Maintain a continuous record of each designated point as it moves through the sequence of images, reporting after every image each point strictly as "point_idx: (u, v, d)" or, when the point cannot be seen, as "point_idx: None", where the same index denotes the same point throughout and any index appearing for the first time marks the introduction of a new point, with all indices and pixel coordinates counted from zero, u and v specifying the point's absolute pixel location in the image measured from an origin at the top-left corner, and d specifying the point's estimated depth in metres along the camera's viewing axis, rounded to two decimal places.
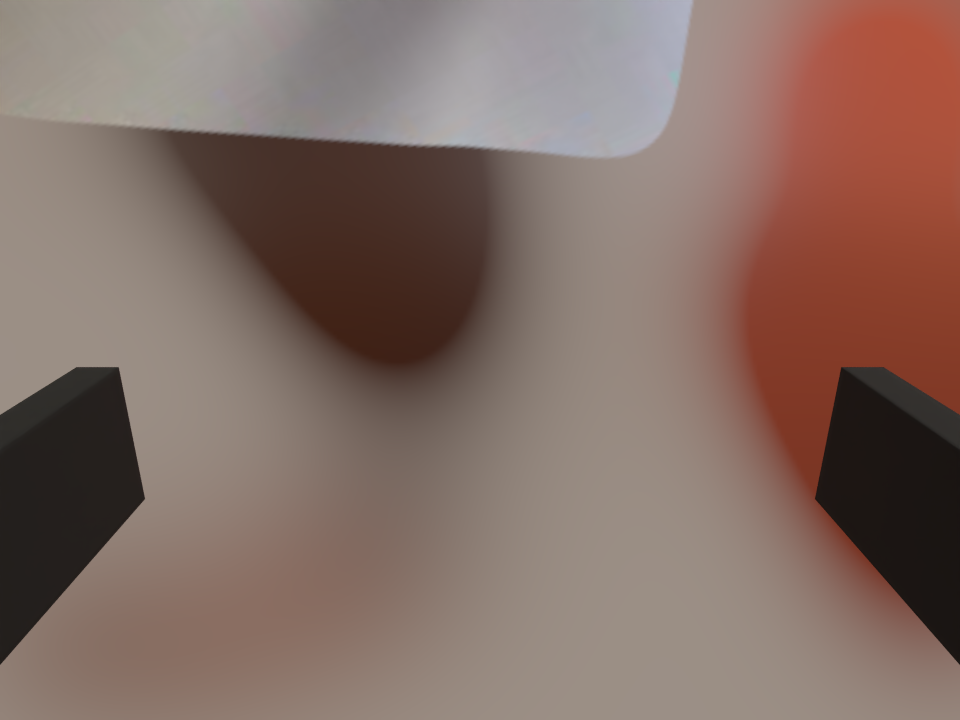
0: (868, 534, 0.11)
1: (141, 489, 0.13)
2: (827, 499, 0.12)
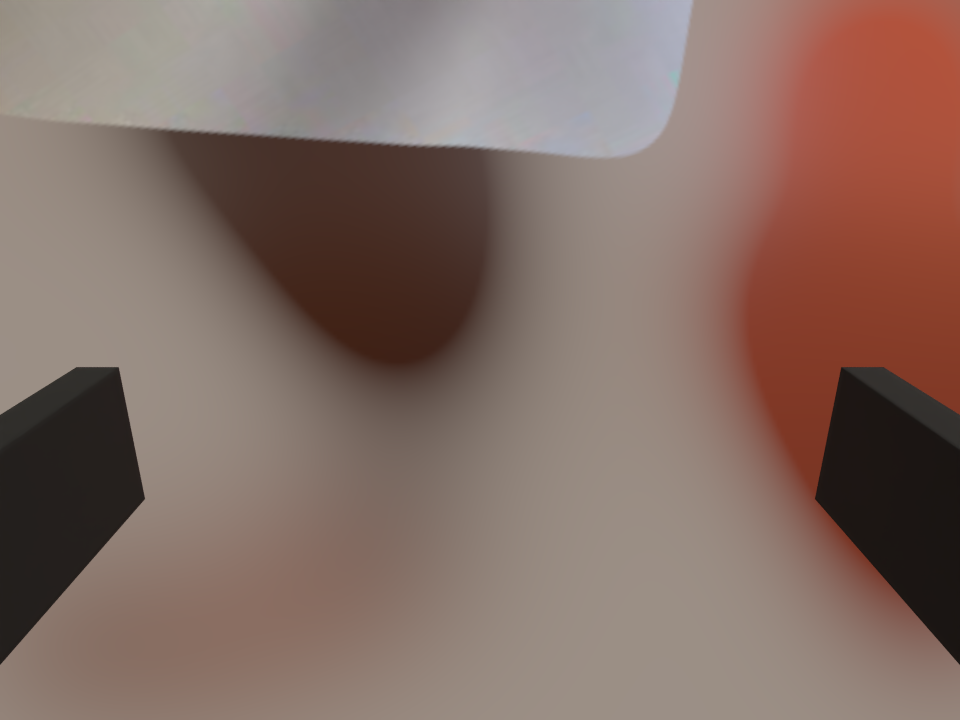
0: (868, 534, 0.11)
1: (141, 489, 0.13)
2: (827, 499, 0.12)
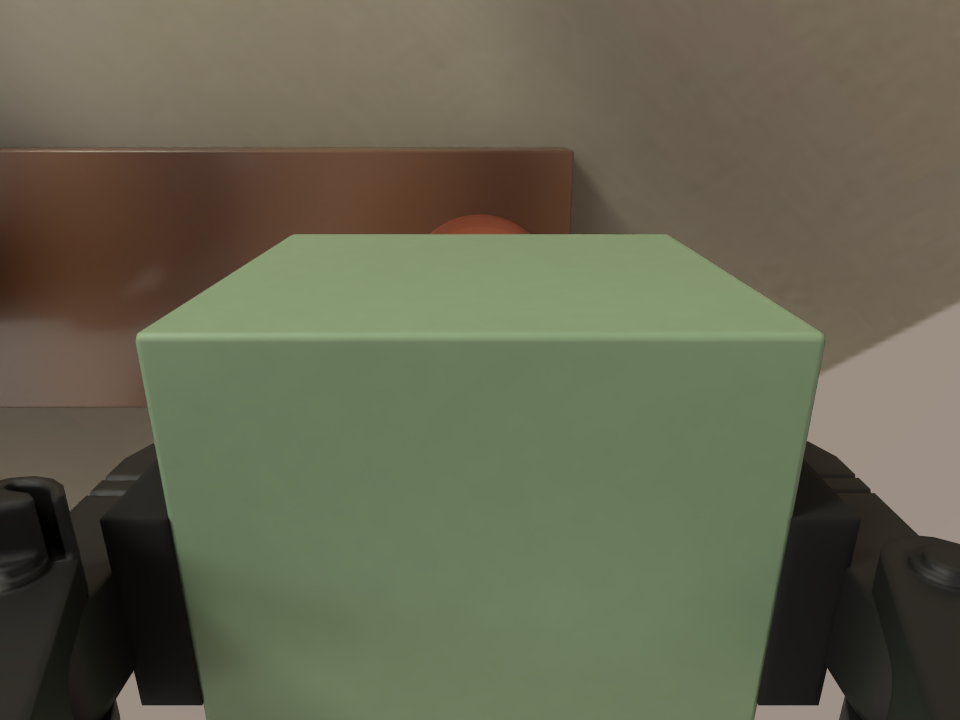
0: None
1: None
2: None
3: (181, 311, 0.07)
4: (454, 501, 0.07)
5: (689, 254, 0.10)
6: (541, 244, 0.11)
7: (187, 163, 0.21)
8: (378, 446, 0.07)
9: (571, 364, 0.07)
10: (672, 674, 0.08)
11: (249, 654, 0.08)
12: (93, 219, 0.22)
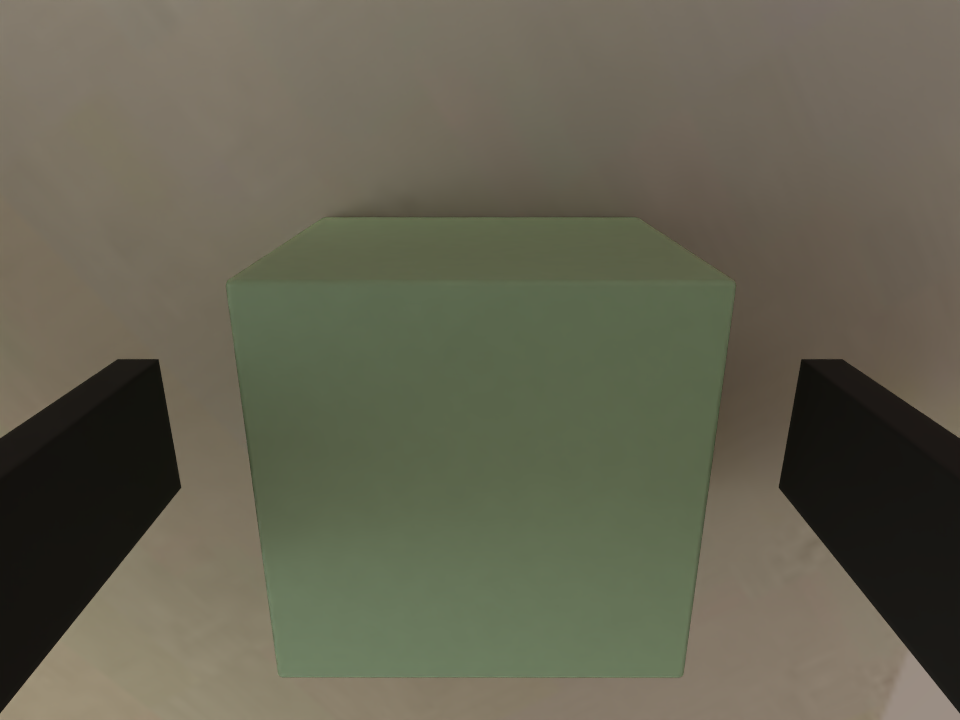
0: (824, 520, 0.11)
1: (178, 477, 0.13)
2: (789, 487, 0.13)
3: (254, 267, 0.10)
4: (461, 410, 0.10)
5: (651, 231, 0.13)
6: (531, 224, 0.14)
7: None
8: (404, 367, 0.09)
9: (548, 304, 0.09)
10: (629, 551, 0.11)
11: (302, 535, 0.10)
12: None
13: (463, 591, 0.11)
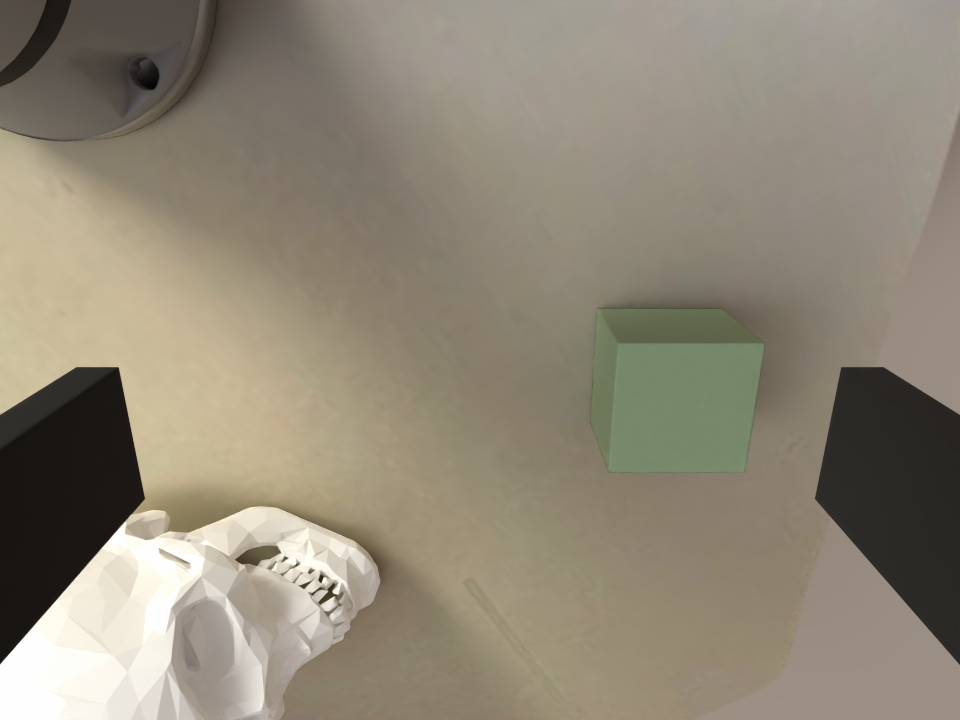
0: (868, 534, 0.11)
1: (141, 489, 0.13)
2: (827, 499, 0.12)
3: (618, 337, 0.32)
4: (681, 380, 0.32)
5: (731, 318, 0.35)
6: (684, 314, 0.36)
7: None
8: (666, 367, 0.32)
9: (710, 349, 0.32)
10: (729, 426, 0.33)
11: (626, 421, 0.33)
12: None
13: (674, 440, 0.33)
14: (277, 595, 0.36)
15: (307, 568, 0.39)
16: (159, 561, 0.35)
